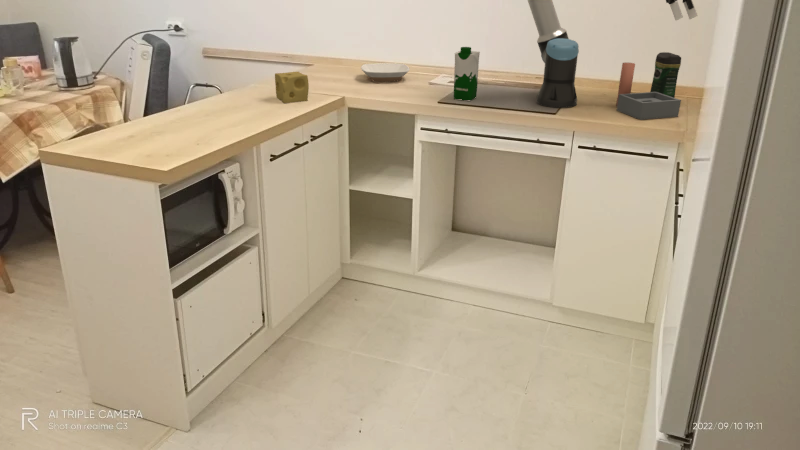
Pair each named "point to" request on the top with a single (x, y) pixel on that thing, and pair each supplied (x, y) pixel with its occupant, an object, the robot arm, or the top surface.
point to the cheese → (291, 87)
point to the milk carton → (466, 74)
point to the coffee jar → (666, 73)
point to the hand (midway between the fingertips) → (686, 18)
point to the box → (648, 105)
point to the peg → (626, 79)
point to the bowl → (385, 71)
